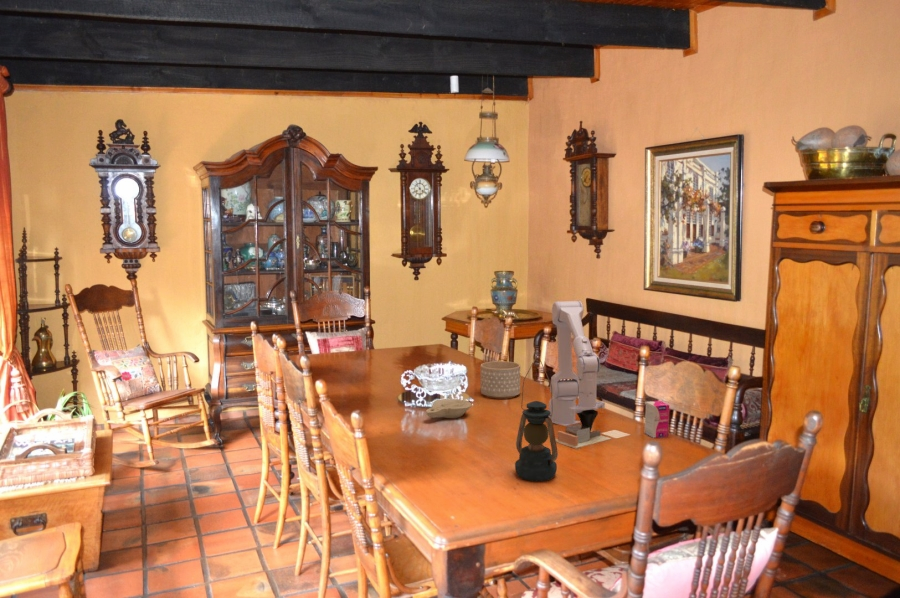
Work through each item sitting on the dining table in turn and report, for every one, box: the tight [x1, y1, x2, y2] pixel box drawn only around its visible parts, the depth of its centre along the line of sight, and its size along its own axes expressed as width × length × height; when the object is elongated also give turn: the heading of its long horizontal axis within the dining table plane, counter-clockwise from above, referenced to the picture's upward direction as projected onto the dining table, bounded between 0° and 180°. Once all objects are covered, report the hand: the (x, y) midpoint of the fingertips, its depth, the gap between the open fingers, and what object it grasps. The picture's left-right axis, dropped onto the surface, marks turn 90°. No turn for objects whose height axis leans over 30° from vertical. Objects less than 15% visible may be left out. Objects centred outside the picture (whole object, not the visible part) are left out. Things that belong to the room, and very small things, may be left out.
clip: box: [565, 423, 590, 444], centre depth 240 cm, size 5×6×4 cm
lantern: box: [514, 354, 559, 482], centre depth 208 cm, size 14×12×35 cm
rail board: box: [555, 429, 612, 450], centre depth 241 cm, size 10×16×4 cm, turn 126°
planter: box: [480, 360, 521, 400], centre depth 304 cm, size 16×16×13 cm
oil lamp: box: [425, 398, 472, 419], centre depth 270 cm, size 21×14×5 cm
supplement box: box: [644, 400, 670, 439], centre depth 246 cm, size 6×6×12 cm
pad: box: [600, 429, 631, 439], centre depth 248 cm, size 7×7×1 cm
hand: (586, 432), depth 242 cm, fingers closed
